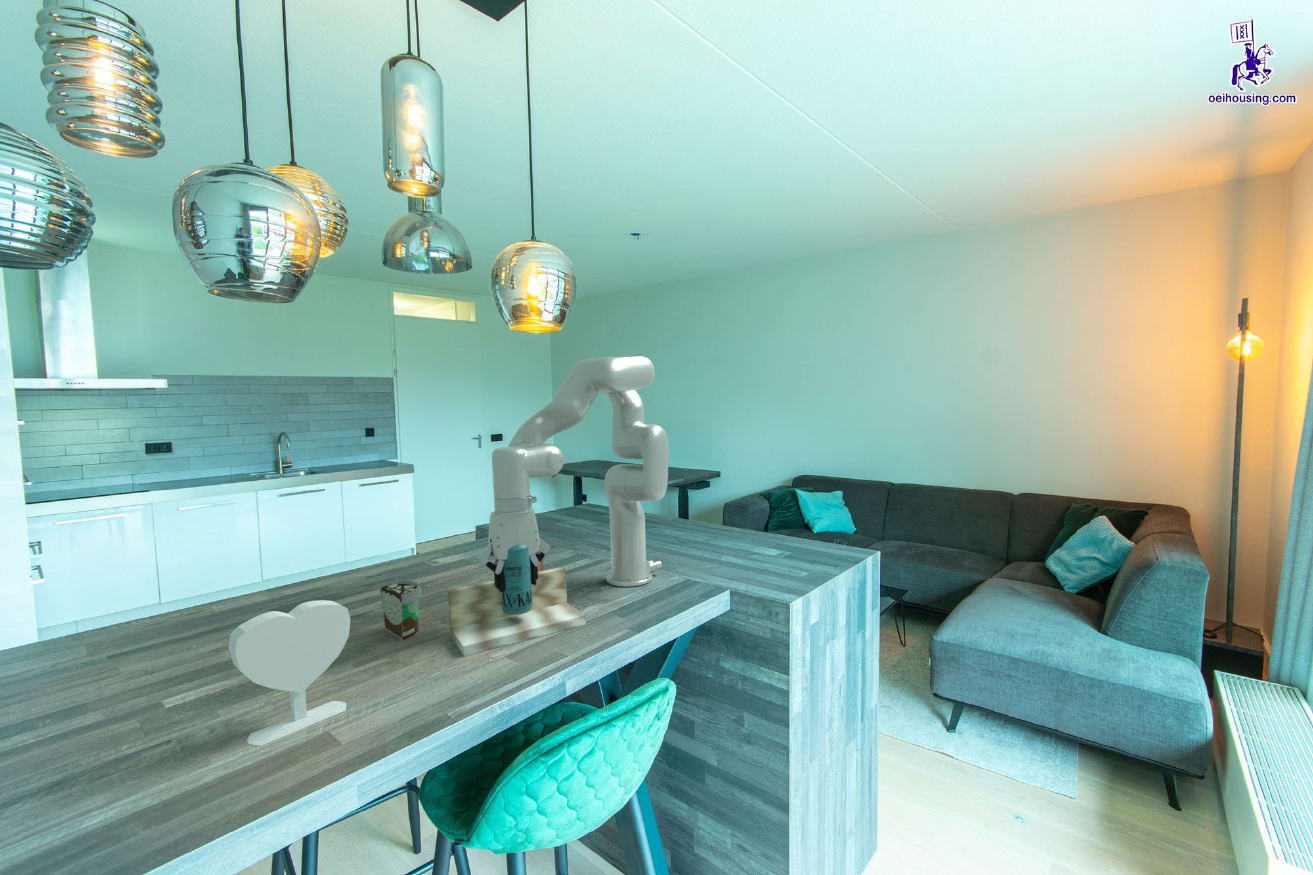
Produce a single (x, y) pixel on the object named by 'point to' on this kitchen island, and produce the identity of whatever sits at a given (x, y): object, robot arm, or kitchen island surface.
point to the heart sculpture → (291, 658)
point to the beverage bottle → (517, 581)
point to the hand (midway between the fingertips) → (516, 586)
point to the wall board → (489, 627)
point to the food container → (401, 607)
